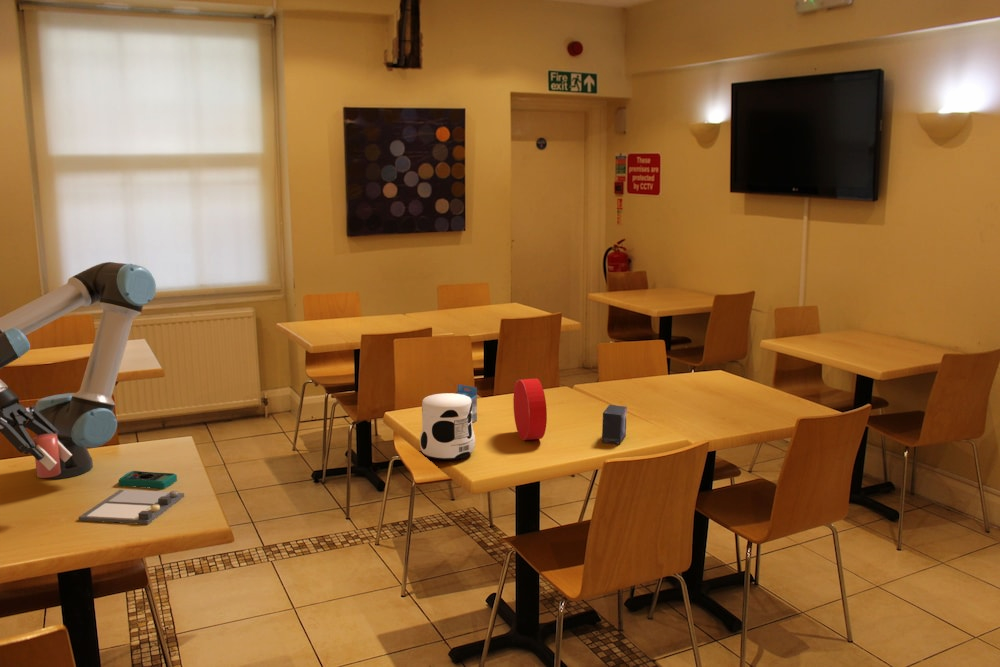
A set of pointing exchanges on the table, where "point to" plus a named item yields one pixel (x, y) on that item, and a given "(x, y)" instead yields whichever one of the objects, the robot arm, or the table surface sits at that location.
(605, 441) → the small box
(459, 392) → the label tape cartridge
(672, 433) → the table surface
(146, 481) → the digital multimeter
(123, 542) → the table surface
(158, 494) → the board
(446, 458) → the milk container
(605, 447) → the table surface
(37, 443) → the pink domed cylinder
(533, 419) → the upright red puck
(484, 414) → the table surface
